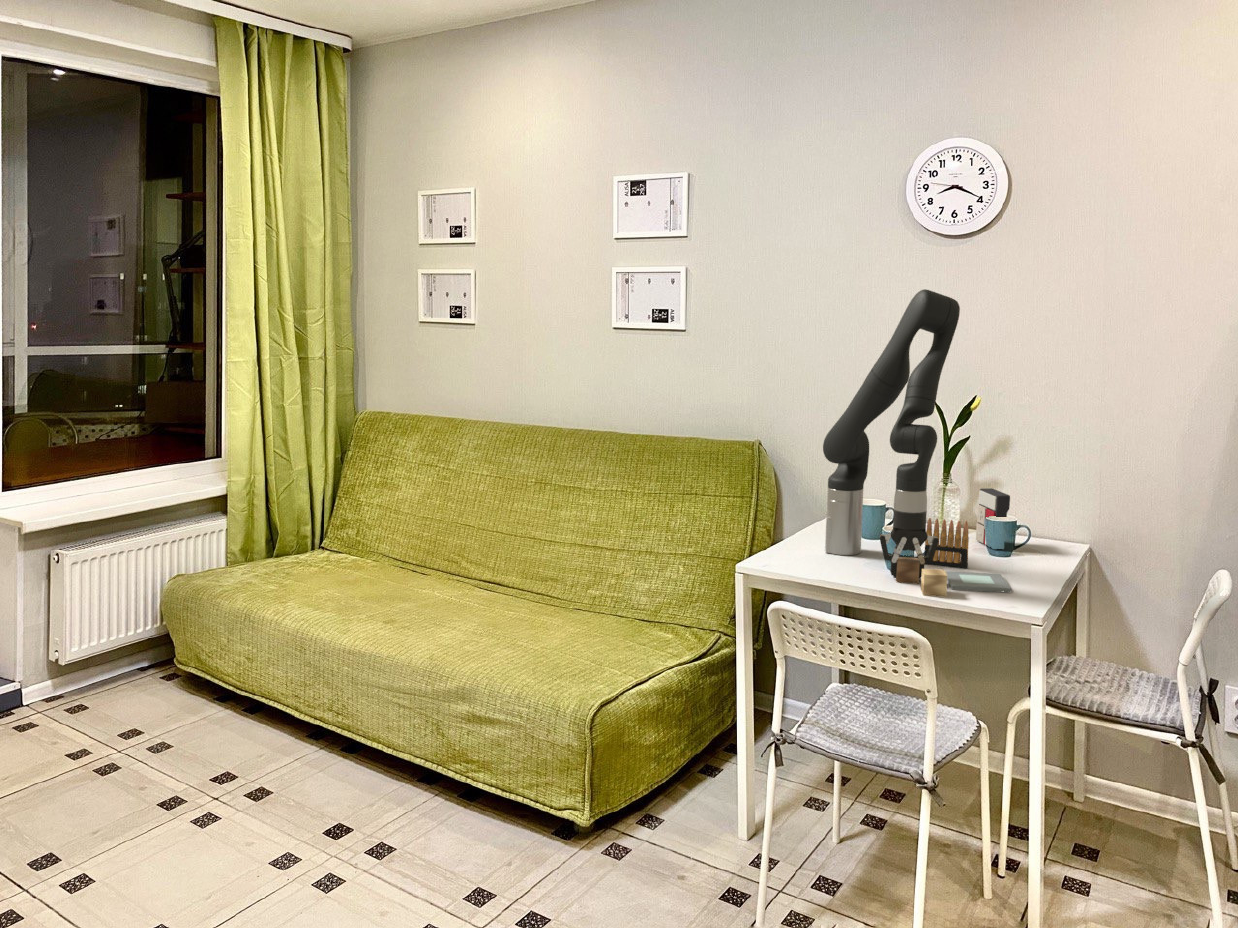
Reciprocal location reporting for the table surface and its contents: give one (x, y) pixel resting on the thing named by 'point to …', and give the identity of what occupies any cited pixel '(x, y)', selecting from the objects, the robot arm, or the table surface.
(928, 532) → the ammunition clip
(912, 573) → the walnut block
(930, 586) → the maple block
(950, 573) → the baseplate
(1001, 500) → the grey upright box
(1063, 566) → the table surface
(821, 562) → the table surface
